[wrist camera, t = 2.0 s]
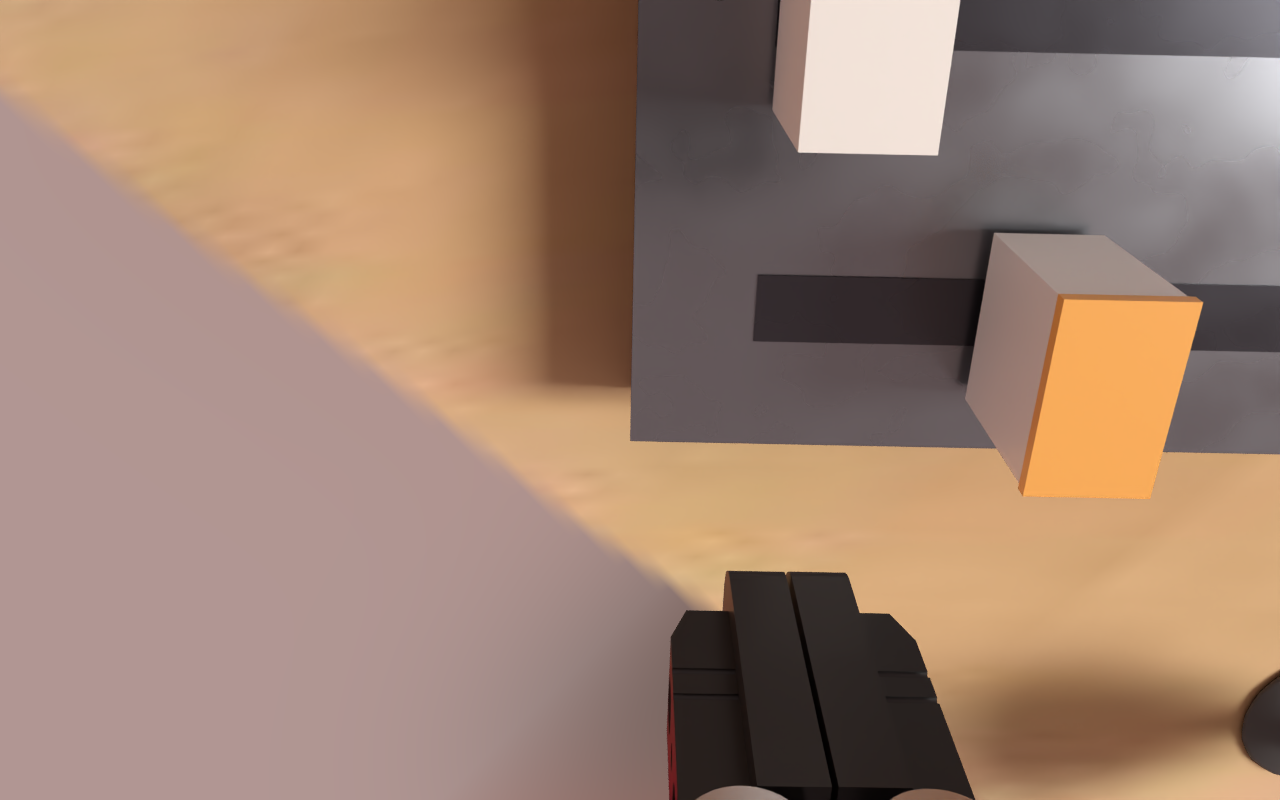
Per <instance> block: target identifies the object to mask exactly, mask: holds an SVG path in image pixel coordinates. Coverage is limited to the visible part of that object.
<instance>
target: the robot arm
mask: <svg viewBox="0 0 1280 800" xmlns="http://www.w3.org/2000/svg"><path fill="white" fill-rule="evenodd" d="M667 747H668V778H669V779H668V780H669V800H975V798H974V795H973V793H972V790H971V787H970V784H969V782H968V779H967V776H966V774H965V771H964V768H963V766H962V763H961V760H960V758H959V755H958V752H957V750H956V747H955V744H954V742H953V739H952V736H951V734H950V731H949V728H948V726H947V723H946V720H945V718H944V715H943V712H942V710H941V707H940V704H937V696H936V694H935V691H934V688H933V685H932V683H931V680H930V678H928V677H927V669H926V667H925V664H924V661H923V659H922V656H921V653H920V651H919V648H918V645H917V643H916V641H915V640H914V639H913V638H912V636H911V635H910V634H909V633H908V632H907V631H906V630H905V629H904V628H903V627H902V626H901V625H900V624H899V623H898V622H897V621H896V620H895V619H894V618H893V617H892V616H891V615H890V614H875V613H859V610H858V606H857V603H856V600H855V597H854V593H853V590H852V587H851V584H850V581H849V578H848V576H847V574H846V573H827V572H787V574H786V575H785V573H784V572H758V571H727V572H726V576H725V584H724V598H723V611H686V612H685V614H684V616H683V617H682V619H681V621H680V622H679V624H678V626H677V627H676V629H675V631H674V632H673V634H672V636H671V646H670V669H669V693H668V715H667Z"/></svg>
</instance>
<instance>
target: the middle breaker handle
mask: <svg viewBox="0 0 1280 800" xmlns="http://www.w3.org/2000/svg"><path fill="white" fill-rule="evenodd" d="M959 6H960V0H780V13H779V26H778V40H777V53H776V67H775V80H774V94H773V107H772V110H773V112H774V114H775V115H776V117H777V119H778V120H779V122H780V124H781V125H782V127H783V129H784V130H785V132H786V133H787V135H788V137H789V138H790V140H791V142H792V143H793V145H794V147H795V148H796V150H797V152H799V153H845V154H891V155H937V156H938V151H939V144H940V137H941V130H942V123H943V116H944V109H945V103H946V96H947V89H948V82H949V75H950V68H951V61H952V54H953V47H954V40H955V34H956V27H957V20H958V13H959Z"/></svg>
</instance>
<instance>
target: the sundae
mask: <svg viewBox="0 0 1280 800" xmlns="http://www.w3.org/2000/svg"><path fill="white" fill-rule="evenodd" d="M1242 741H1243V743H1244V746H1245V749H1246V751H1247V753H1248V754H1249V756H1250V758H1251V759H1252V760H1253V761H1255V762H1256V763H1257V764H1258V765H1260V766H1261V767H1263V768H1265V769H1266V770H1268V771H1270V772H1272V773H1274V774H1277V775H1280V676H1279V677H1278V678H1276V679H1275V680H1273V681H1272V682H1271V683H1270V684H1268V685H1267V686H1266V687H1265V688H1264V689H1263V690H1261V691H1260V693H1259V694H1258V695H1257V697H1256V698H1255V699H1254V701H1253V702H1252V704H1251V706H1250V707H1249V709H1248V711H1247V713H1246V715H1245V718H1244V723H1243V727H1242Z"/></svg>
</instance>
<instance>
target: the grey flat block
mask: <svg viewBox="0 0 1280 800" xmlns="http://www.w3.org/2000/svg"><path fill="white" fill-rule="evenodd" d="M779 13H780V0H639V3H638V56H637V110H636V163H635V217H634V270H633V324H632V377H631V430H630V441H655V442H704V443H753V444H801V445H850V446H899V447H948V448H996V447H995V445H994V443H993V442H992V440H991V439H990V437H989V436H988V434H987V433H986V431H985V429H984V428H983V426H982V425H981V423H980V422H979V420H978V419H977V417H976V415H975V414H974V412H973V411H972V409H971V408H970V406H969V404H968V403H967V401H966V400H965V397H966V391H967V385H968V379H969V374H970V368H971V362H972V356H973V351H974V345H975V339H976V333H977V328H978V322H979V316H980V310H981V305H982V299H983V293H984V287H985V282H986V276H987V270H988V264H989V259H990V253H991V247H992V241H993V236H994V233H1023V234H1070V235H1105V236H1106V237H1108V238H1109V239H1110V240H1112V241H1113V242H1114V243H1116V244H1117V245H1118V246H1120V247H1121V248H1123V249H1124V250H1125V251H1127V252H1128V253H1129V254H1131V255H1132V256H1134V257H1135V258H1136V259H1138V260H1139V261H1140V262H1142V263H1143V264H1145V265H1146V266H1147V267H1149V268H1150V269H1151V270H1153V271H1154V272H1155V273H1157V274H1158V275H1160V276H1161V277H1162V278H1164V279H1165V280H1166V281H1168V282H1169V283H1171V284H1172V285H1173V286H1175V287H1176V288H1177V289H1179V290H1180V291H1181V292H1183V293H1184V294H1186V295H1187V296H1191V297H1197V298H1198V299H1199V300H1201V301H1202V302H1203V306H1202V309H1201V313H1200V317H1199V320H1198V324H1197V328H1196V331H1195V335H1194V339H1193V342H1192V346H1191V350H1190V353H1189V357H1188V361H1187V364H1186V368H1185V372H1184V375H1183V379H1182V383H1181V386H1180V390H1179V394H1178V397H1177V401H1176V405H1175V408H1174V412H1173V416H1172V419H1171V423H1170V427H1169V430H1168V434H1167V438H1166V441H1165V445H1164V449H1163V452H1193V453H1242V454H1280V0H960V6H959V13H958V20H957V27H956V34H955V40H954V47H953V54H952V61H951V68H950V75H949V82H948V89H947V96H946V103H945V109H944V116H943V123H942V130H941V137H940V144H939V151H938V156H937V155H891V154H845V153H799V152H797V150H796V148H795V147H794V145H793V143H792V142H791V140H790V138H789V137H788V135H787V133H786V132H785V130H784V129H783V127H782V125H781V124H780V122H779V120H778V119H777V117H776V115H775V114H774V112H773V110H772V107H773V94H774V80H775V67H776V53H777V40H778V26H779Z"/></svg>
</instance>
